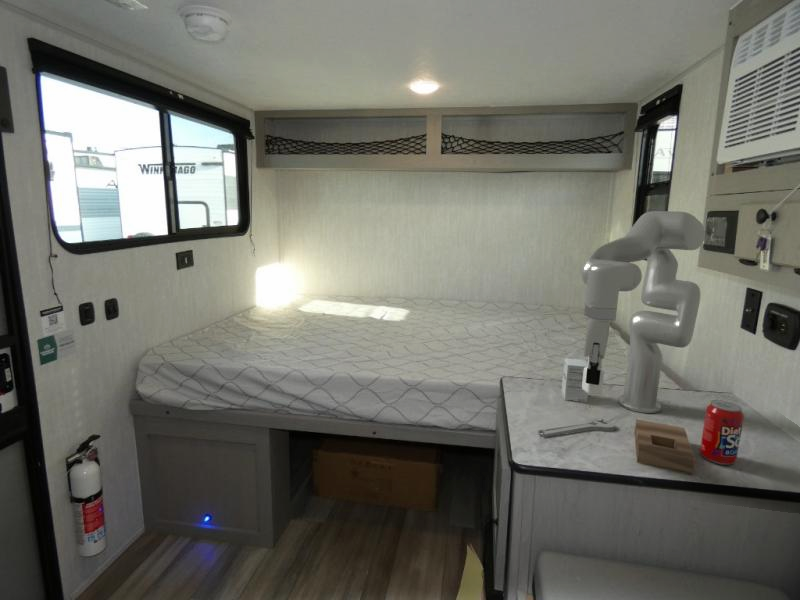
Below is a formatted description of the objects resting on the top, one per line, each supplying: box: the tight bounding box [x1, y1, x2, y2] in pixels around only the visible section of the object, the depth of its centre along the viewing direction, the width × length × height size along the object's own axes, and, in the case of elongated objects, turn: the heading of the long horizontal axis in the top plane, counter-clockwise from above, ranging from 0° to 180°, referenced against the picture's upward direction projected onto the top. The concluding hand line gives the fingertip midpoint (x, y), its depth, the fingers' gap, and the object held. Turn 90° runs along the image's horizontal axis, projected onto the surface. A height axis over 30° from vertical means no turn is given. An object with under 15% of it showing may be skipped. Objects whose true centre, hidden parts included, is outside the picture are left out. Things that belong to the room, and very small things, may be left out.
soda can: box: [699, 399, 745, 466], centre depth 117 cm, size 8×8×15 cm
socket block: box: [634, 419, 695, 475], centre depth 121 cm, size 18×12×4 cm, turn 155°
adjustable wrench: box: [537, 417, 616, 438], centre depth 133 cm, size 25×6×2 cm, turn 103°
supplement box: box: [561, 357, 589, 403], centre depth 155 cm, size 7×7×13 cm
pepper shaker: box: [582, 356, 605, 395], centre depth 120 cm, size 4×4×10 cm
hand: (593, 379), depth 120 cm, fingers closed on pepper shaker, 5 cm apart
